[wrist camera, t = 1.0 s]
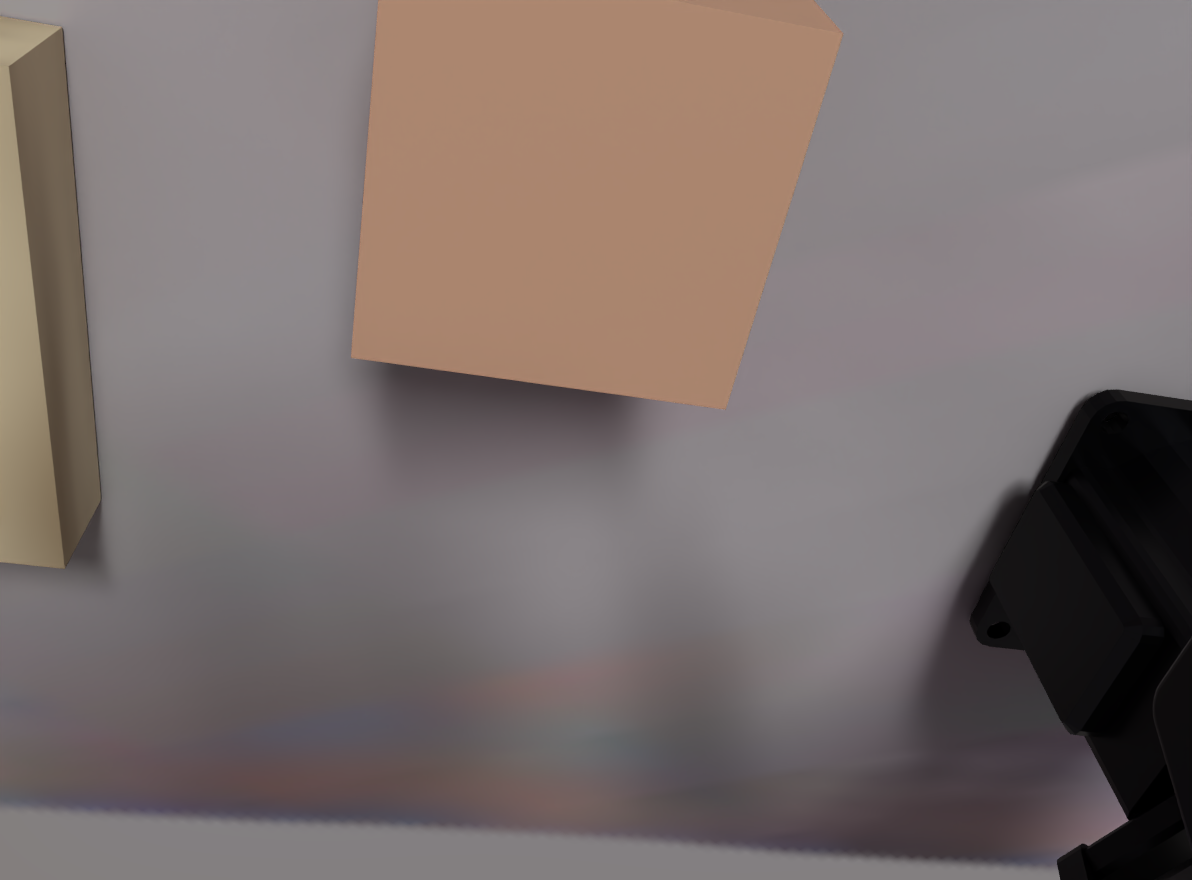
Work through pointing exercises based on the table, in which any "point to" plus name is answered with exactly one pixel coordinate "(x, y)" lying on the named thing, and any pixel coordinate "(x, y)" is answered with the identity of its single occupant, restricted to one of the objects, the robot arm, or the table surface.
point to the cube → (582, 186)
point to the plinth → (41, 311)
